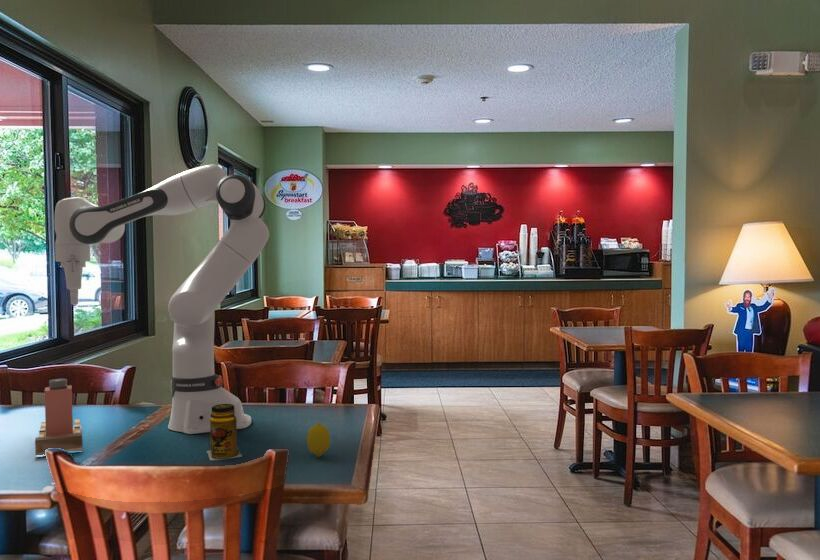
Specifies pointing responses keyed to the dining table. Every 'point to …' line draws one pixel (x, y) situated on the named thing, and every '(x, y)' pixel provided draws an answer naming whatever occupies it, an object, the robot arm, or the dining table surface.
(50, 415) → the pink upright post
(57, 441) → the press base
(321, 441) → the lemon
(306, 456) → the dining table surface
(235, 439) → the condiment
